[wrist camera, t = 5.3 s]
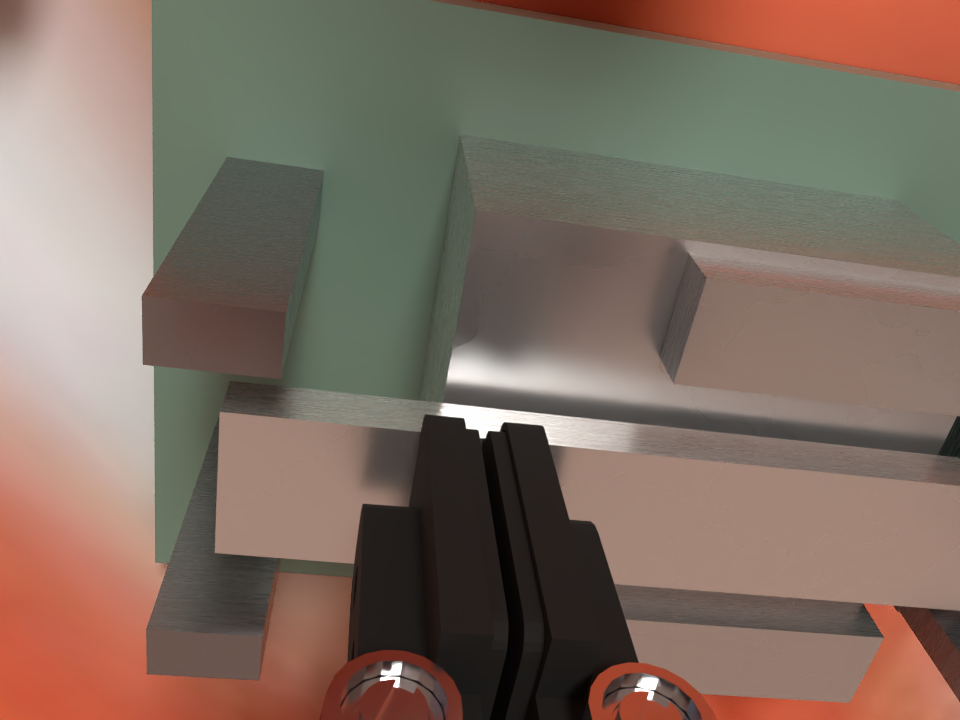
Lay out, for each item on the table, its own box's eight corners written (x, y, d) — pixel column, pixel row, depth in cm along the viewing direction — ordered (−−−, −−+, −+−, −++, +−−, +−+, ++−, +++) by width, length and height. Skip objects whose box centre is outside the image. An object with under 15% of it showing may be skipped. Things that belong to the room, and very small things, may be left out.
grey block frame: (1042, 221, 16) (1317, 375, 12) (879, 550, 20) (1033, 773, 15) (229, 99, 14) (136, 222, 9) (215, 492, 18) (143, 729, 13)
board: (1058, 102, 16) (1095, 115, 16) (829, 584, 22) (847, 614, 21) (167, -54, 14) (151, -48, 13) (166, 531, 20) (155, 562, 19)
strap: (1103, 444, 14) (1158, 490, 13) (1012, 593, 16) (1056, 644, 15) (234, 348, 12) (217, 394, 11) (225, 529, 14) (211, 583, 13)
